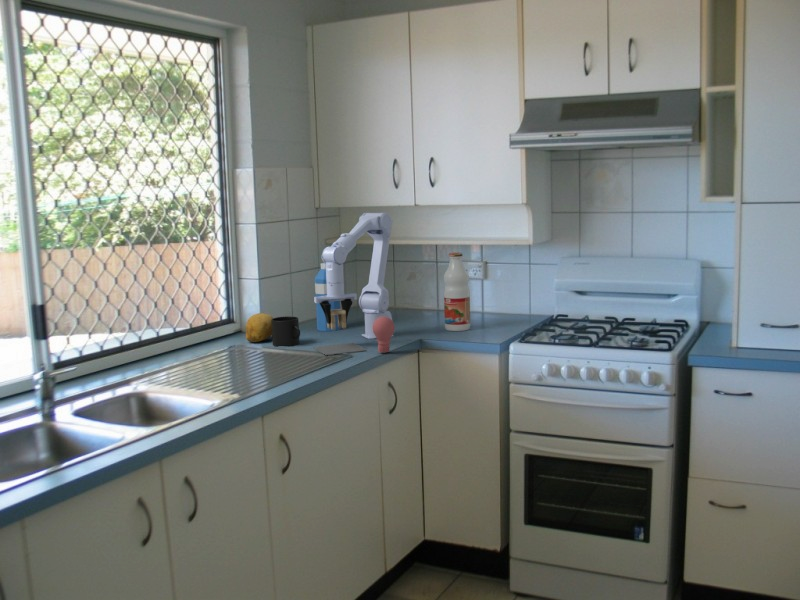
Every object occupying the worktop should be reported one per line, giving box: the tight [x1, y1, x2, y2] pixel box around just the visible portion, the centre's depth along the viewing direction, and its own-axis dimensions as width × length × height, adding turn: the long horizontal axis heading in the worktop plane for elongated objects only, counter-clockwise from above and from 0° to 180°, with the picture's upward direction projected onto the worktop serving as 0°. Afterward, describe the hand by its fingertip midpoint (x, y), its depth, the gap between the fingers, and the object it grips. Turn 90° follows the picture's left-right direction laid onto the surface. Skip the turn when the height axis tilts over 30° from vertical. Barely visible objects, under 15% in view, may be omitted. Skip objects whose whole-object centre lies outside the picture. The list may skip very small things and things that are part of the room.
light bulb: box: [373, 317, 396, 354], centre depth 275 cm, size 7×7×12 cm
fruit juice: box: [443, 252, 471, 332], centre depth 311 cm, size 9×9×28 cm
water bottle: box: [314, 262, 342, 332], centre depth 321 cm, size 9×9×25 cm
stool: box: [327, 308, 347, 330], centre depth 287 cm, size 5×5×6 cm
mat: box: [313, 342, 368, 356], centre depth 284 cm, size 14×14×1 cm
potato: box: [245, 312, 274, 343], centre depth 304 cm, size 10×12×10 cm
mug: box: [271, 315, 301, 347], centre depth 295 cm, size 9×12×9 cm
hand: (336, 322), depth 287 cm, fingers closed on stool, 5 cm apart
